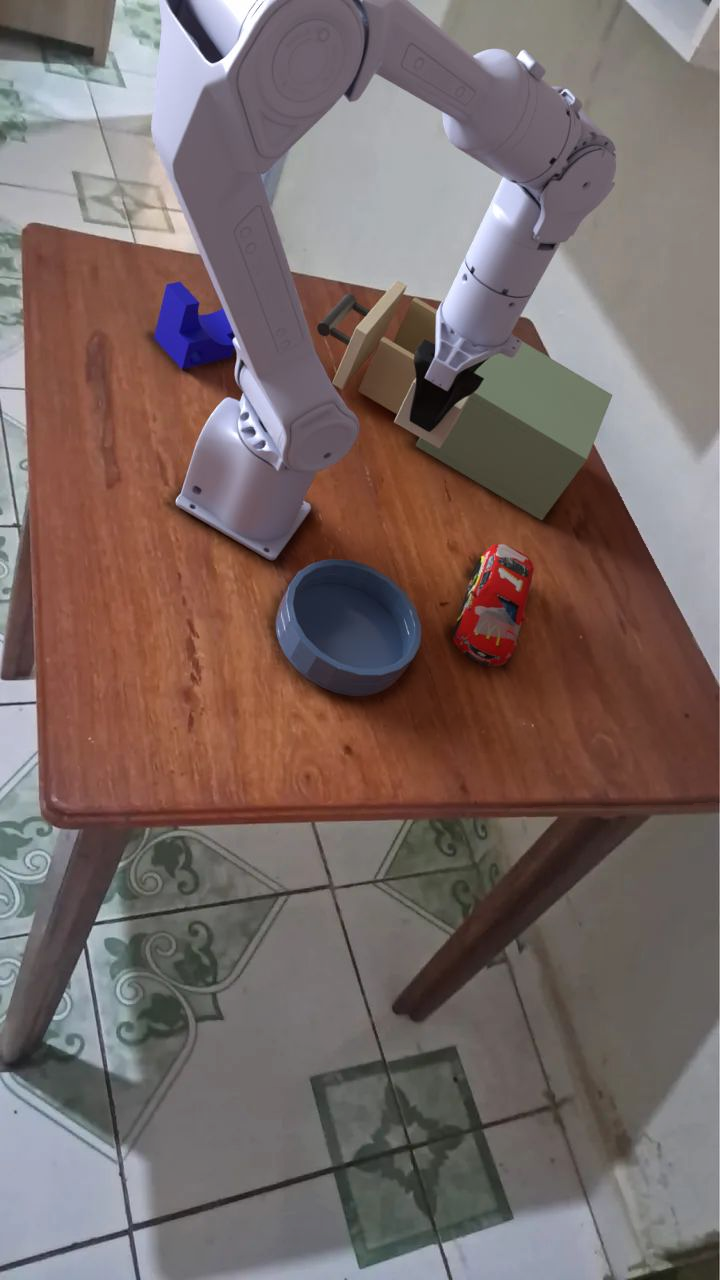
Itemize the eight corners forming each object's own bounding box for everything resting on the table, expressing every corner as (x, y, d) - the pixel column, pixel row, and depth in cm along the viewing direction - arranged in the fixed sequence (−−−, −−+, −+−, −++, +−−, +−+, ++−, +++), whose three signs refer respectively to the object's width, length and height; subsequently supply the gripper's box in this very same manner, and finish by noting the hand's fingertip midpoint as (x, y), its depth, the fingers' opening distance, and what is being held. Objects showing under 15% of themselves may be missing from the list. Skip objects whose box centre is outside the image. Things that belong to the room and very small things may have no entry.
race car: (498, 682, 80) (521, 655, 77) (441, 651, 80) (462, 624, 77) (529, 581, 89) (550, 554, 86) (478, 553, 88) (498, 525, 85)
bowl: (251, 647, 73) (262, 624, 71) (310, 560, 80) (321, 537, 78) (377, 720, 73) (392, 700, 71) (424, 627, 80) (439, 606, 78)
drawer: (297, 363, 94) (319, 306, 89) (341, 315, 101) (363, 259, 96) (449, 453, 94) (480, 401, 89) (481, 398, 102) (511, 347, 97)
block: (393, 422, 81) (413, 381, 77) (411, 396, 84) (431, 356, 80) (439, 449, 81) (461, 409, 77) (456, 422, 84) (477, 382, 80)
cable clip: (181, 369, 89) (196, 316, 84) (153, 338, 90) (166, 284, 85) (277, 344, 96) (295, 295, 92) (250, 316, 97) (267, 265, 93)
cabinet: (415, 446, 94) (451, 379, 88) (453, 386, 103) (489, 321, 96) (541, 520, 95) (587, 459, 88) (569, 455, 103) (612, 394, 97)
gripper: (520, 344, 66) (443, 479, 76) (570, 260, 75) (495, 391, 86) (432, 293, 66) (367, 435, 76) (492, 216, 75) (427, 352, 86)
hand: (430, 409), depth 81 cm, fingers closed on block, 4 cm apart
